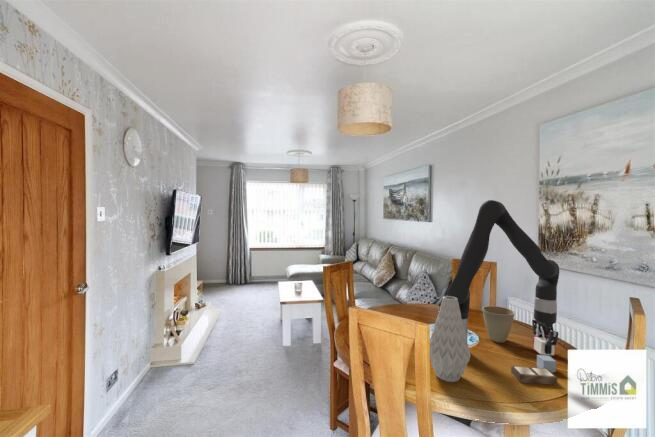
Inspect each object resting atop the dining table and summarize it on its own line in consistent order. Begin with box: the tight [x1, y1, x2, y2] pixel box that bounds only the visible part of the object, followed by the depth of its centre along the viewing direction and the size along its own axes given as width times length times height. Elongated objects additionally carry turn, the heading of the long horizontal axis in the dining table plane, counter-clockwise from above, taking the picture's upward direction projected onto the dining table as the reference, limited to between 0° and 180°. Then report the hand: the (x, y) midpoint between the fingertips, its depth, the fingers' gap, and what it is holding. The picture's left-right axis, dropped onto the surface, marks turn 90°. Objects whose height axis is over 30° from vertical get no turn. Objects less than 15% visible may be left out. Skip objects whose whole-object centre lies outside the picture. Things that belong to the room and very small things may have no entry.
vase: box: [429, 295, 471, 383], centre depth 126 cm, size 17×17×33 cm
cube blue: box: [536, 354, 557, 373], centre depth 134 cm, size 5×5×5 cm
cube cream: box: [533, 336, 555, 356], centre depth 125 cm, size 5×5×5 cm
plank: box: [510, 365, 558, 385], centre depth 126 cm, size 14×7×3 cm, turn 84°
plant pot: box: [482, 305, 515, 343], centre depth 163 cm, size 15×15×16 cm
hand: (543, 350), depth 125 cm, fingers closed on cube cream, 5 cm apart
